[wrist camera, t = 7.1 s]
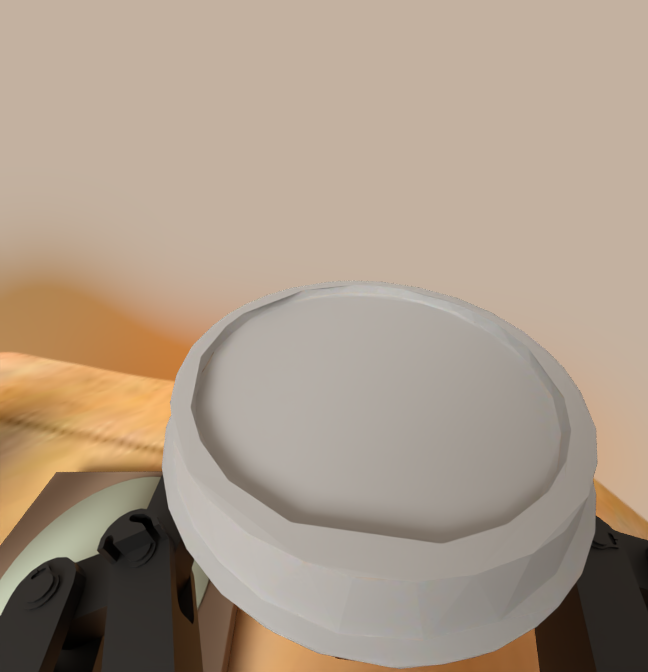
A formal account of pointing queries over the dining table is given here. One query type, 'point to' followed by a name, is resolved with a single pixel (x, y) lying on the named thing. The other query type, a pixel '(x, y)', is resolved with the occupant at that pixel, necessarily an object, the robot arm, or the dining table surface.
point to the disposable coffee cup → (381, 472)
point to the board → (84, 536)
